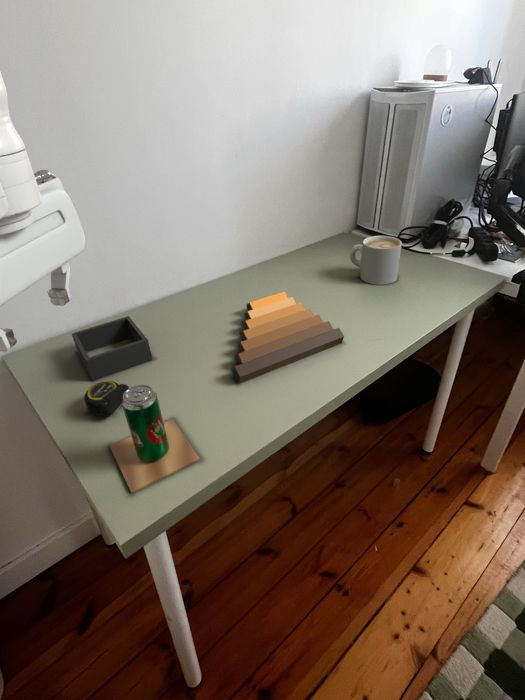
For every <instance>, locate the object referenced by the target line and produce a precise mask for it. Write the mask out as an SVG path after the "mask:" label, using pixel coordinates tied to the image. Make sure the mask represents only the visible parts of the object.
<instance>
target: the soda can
mask: <svg viewBox="0 0 525 700" xmlns="http://www.w3.org/2000/svg"><path fill="white" fill-rule="evenodd" d="M121 407H122V410H123V413H124V416H125V419H126V420H125V421H126V423H127V427H128V429H129V433H130V437H132V440H133V443H134V446H135V450H136V453H137V456H138V457H139V458H140V459H141V460H143V461H146V462H154V461H157V460H159V459H161V458H163V457H164V456H165V455H166V453H167V452H168V450H169V443H168V439H167V435H166V431H165V427H164V422H165V421H164V419H163V413H162V410H161V406H160V402H159V398H158V394H157V392H156V391H155V390H154V388H153V387H151V386H150V385H148V384H137V385H133V386H131V387H129V389H127V390H126V391H125V392H124V394H123V400H122V404H121Z"/></svg>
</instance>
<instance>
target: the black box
mask: <svg viewBox="0 0 525 700" xmlns="http://www.w3.org/2000/svg"><path fill="white" fill-rule="evenodd" d="M71 337H72V340H73V342H74V346H75V348H76V351H77V353H78V356H79V357H80V360H81V361H82V363H83V365H84V367H85V369H86V371H87V373H88V375H89V377H90V379H91V381H92V382H94V381H96V380H100V379H103V378H105V377H108V376H111V375H114V374H117V373H119V372H121V371H124V370H127V369H130V368H133V367H136V366H138V365H141V364H144V363H147V362H149V361H152V360H153V356H152V351H151V348H150V343H149V339H148V338H147V336H145V334H144V333H143V332H142V331H141V330H140V328H139V327H138V325H137V324H136V323H135V322H134V320H133V319H132V318H131V316H130V315H126V316H124V317H121V318H117V319H114V320H111V321H108V322H104V323H101V324H98V325H94V326H91V327H89V328H84V329H82V330H77V331H75V332H72V333H71ZM129 338H131V339H132V340H133V341H134V342H131V343H128V344H125V345H122V346H118V347H115V348H112V349H109V350H106V351H104V352H101V353H97V354H94V355H92V356H88V354H87V352H90V351H93V350H96V349H99V348H103V347H105V346H108V345H111V344H114V343H118V342H121V341H124V340H127V339H129Z"/></svg>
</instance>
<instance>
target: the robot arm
mask: <svg viewBox="0 0 525 700" xmlns="http://www.w3.org/2000/svg"><path fill="white" fill-rule="evenodd" d="M4 80H5V79H4V78H3V75H2V71H1V70H0V307H1V306H4V305H5V304H6V303H8V302H9V301H11V300H12V299H14V298H16V297H17V296H18V295H20V294H21V293H22V292H25V290H27V289H29V288H30V287H32V286H33V285H34V284H36V283H38V282H39V281H41V280H42V279H43V278H45V277H47V276H48V275H50V289H48V290H47V291H46V293H47V295H48V297H49V299H50V303H51V304H52V305H53V306H56V307H58V306H60V307H64V306H65V305H66V304H68V303H69V302H70V301H71V300H72V299H73V296H72V294H71V291H70V288H69V287H70V280H71V279H70V278H71V269H72V268H71V266H70V263H69V261H71V260H72V259H74V258H75V257H77V256H78V255H80V254H81V253H83V252H84V251H85V249H86V244H87V243H86V242H87V240H86V239H87V238H86V235H85V231H84V229H83V226H82V222H81V220H80V217H79V215H78V213H77V210H76V208H75V205H74V204H73V201H72V200H71V199H72V198H71V197H70V196H69V194H68V193H67V192H66V191H65V189H64V185H63V183H62V181H61V179H60V178H59V177H57V175H55V173H53V172H50V171H49V170H48V169H40V170H37V171H36V172H34V170H33V166H32V163H31V160H30V158H29V155H28V152H27V148H26V145H25V143H24V141H23V139H22V137H21V136H20V134H19V133H18V131H17V129H16V127H15V125H14V123H13V121H12V118H11V115H10V109H9V97H8V96H9V95H8V90H7V86H6V84H5V81H4ZM17 343H18V341H17V338H16V337H15V333H14V330H13V329H12V328H2V327H0V352H1V353H2V352H3V353H6V352H8V351H9V350H10V349H11V348H13V347H14V346H15V345H16V344H17Z"/></svg>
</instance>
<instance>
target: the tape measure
mask: <svg viewBox="0 0 525 700" xmlns="http://www.w3.org/2000/svg"><path fill="white" fill-rule="evenodd" d="M129 388H130V386H128V384H125V383H120V384H119V383H117V382H116V381H112V380H105V381H104V380H103V381H100V382H97V383H95V384H93V385H91V386H90V387H89V388H88V389H87V390H86V392H85V394H84V395H83V396H84V397H83V399H84V403H85V406H86V408H87V410H88V411H89V413H91V414H92V415H95V416H103V417H111V416H112V415H113V414H115V412H116V411H117V410H118V409H119V407H121V406H122V400H123V394H124V392H125V391H126V390H127V389H129Z"/></svg>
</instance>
